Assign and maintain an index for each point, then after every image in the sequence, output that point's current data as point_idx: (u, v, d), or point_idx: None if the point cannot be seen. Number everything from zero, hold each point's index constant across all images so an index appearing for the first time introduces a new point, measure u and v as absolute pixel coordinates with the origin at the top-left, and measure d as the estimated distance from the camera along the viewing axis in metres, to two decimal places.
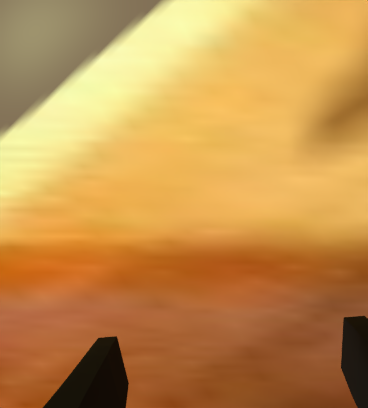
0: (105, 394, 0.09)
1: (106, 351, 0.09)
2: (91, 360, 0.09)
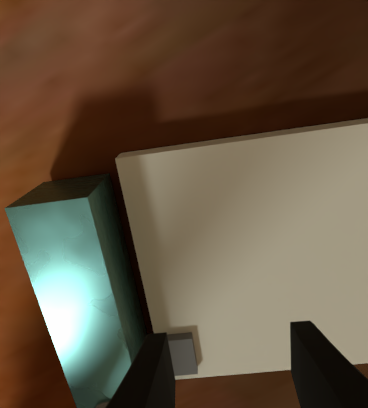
0: (162, 390, 0.09)
1: (160, 347, 0.09)
2: (147, 356, 0.09)
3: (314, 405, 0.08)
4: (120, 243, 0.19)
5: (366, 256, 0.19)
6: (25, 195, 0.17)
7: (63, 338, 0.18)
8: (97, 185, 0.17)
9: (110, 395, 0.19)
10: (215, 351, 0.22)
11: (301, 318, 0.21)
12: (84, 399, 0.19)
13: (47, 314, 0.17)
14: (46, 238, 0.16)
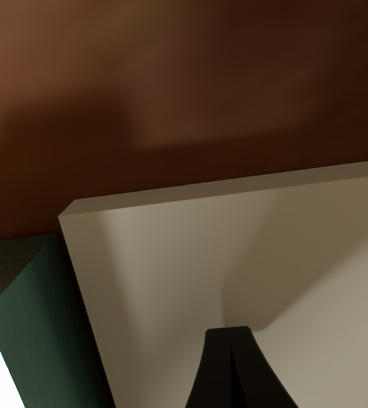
0: (233, 385, 0.09)
1: (227, 341, 0.09)
2: (217, 350, 0.09)
3: None
4: (76, 346, 0.12)
5: None
6: None
7: None
8: (21, 269, 0.09)
9: None
10: None
11: None
12: None
13: None
14: None
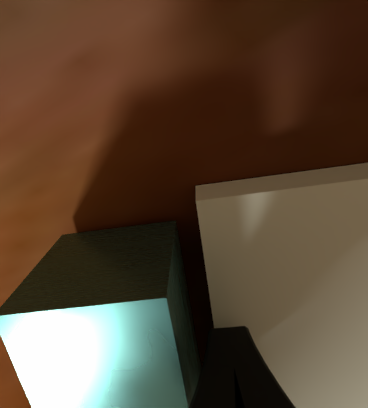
0: None
1: (230, 341, 0.09)
2: (220, 350, 0.09)
3: None
4: (192, 337, 0.11)
5: None
6: (33, 273, 0.09)
7: None
8: (169, 255, 0.09)
9: None
10: None
11: None
12: None
13: None
14: (78, 369, 0.08)
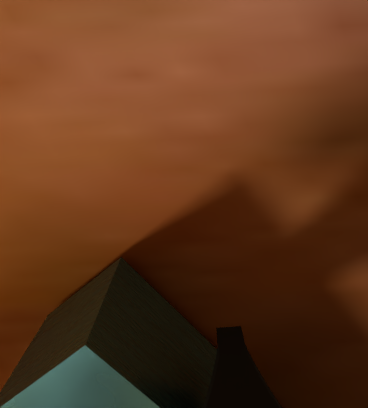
0: None
1: (241, 340, 0.09)
2: (231, 349, 0.09)
3: None
4: (193, 347, 0.12)
5: None
6: (18, 364, 0.10)
7: None
8: (103, 298, 0.10)
9: None
10: None
11: None
12: None
13: None
14: None
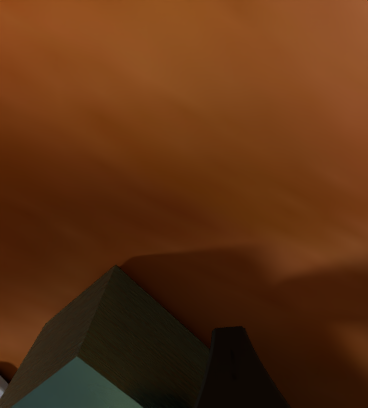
0: None
1: (234, 341, 0.09)
2: (224, 350, 0.09)
3: None
4: (190, 352, 0.12)
5: None
6: (15, 374, 0.10)
7: None
8: (96, 307, 0.10)
9: None
10: None
11: None
12: None
13: None
14: None
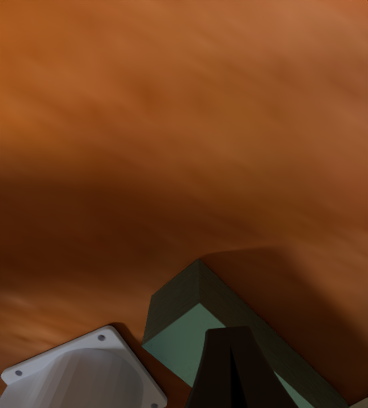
0: (233, 385, 0.09)
1: (227, 342, 0.09)
2: (217, 350, 0.09)
3: None
4: (244, 310, 0.19)
5: None
6: (147, 321, 0.18)
7: None
8: (198, 281, 0.17)
9: None
10: None
11: None
12: None
13: None
14: (187, 351, 0.17)
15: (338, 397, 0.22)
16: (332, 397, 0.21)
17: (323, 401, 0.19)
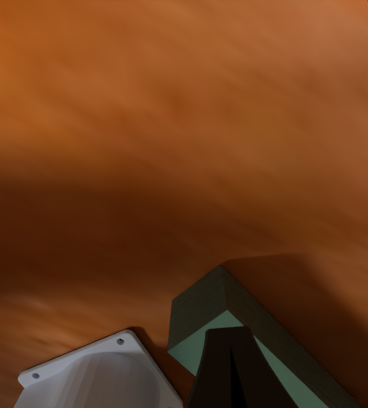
0: (233, 385, 0.09)
1: (227, 342, 0.09)
2: (217, 350, 0.09)
3: None
4: (265, 317, 0.20)
5: None
6: (171, 326, 0.18)
7: None
8: (223, 287, 0.17)
9: None
10: None
11: None
12: None
13: None
14: None
15: (354, 403, 0.22)
16: (349, 403, 0.21)
17: None
